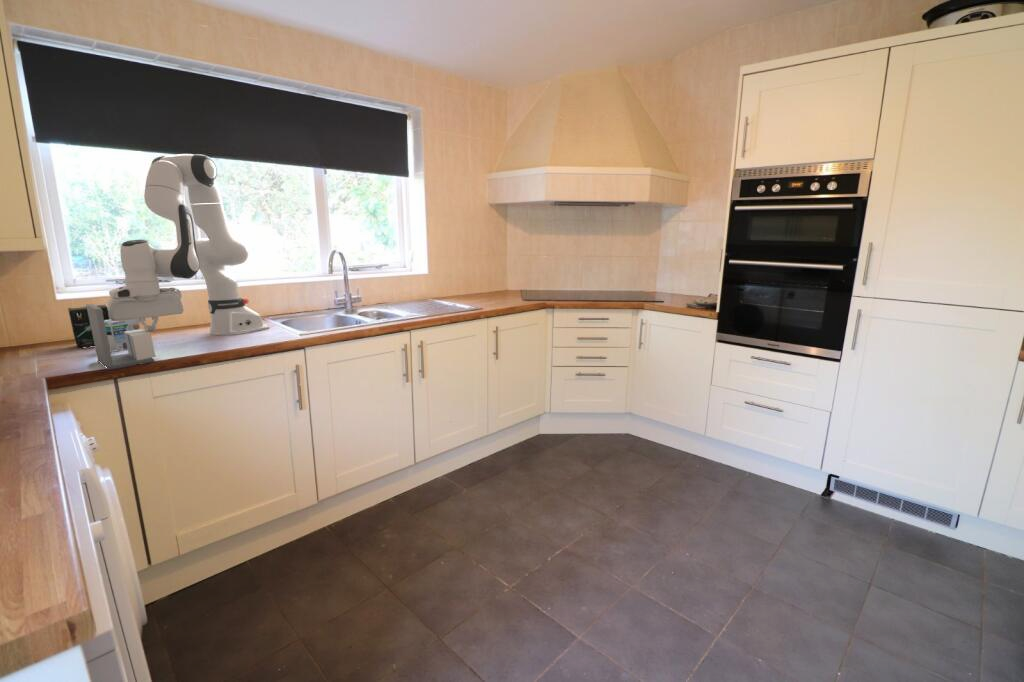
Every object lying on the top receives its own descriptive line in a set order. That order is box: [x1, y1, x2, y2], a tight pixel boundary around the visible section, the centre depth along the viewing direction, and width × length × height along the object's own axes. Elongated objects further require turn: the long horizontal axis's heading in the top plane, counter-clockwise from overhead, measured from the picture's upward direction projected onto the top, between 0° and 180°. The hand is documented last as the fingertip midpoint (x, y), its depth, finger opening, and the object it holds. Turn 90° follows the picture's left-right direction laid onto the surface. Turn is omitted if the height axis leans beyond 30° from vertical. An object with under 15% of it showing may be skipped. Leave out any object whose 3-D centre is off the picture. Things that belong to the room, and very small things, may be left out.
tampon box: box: [67, 304, 110, 349], centre depth 181 cm, size 11×9×15 cm
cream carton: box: [124, 328, 157, 360], centre depth 161 cm, size 8×12×5 cm
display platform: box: [85, 303, 155, 370], centre depth 156 cm, size 12×16×19 cm
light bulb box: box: [104, 319, 141, 351], centre depth 177 cm, size 11×7×11 cm, turn 168°
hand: (150, 330), depth 162 cm, fingers closed
